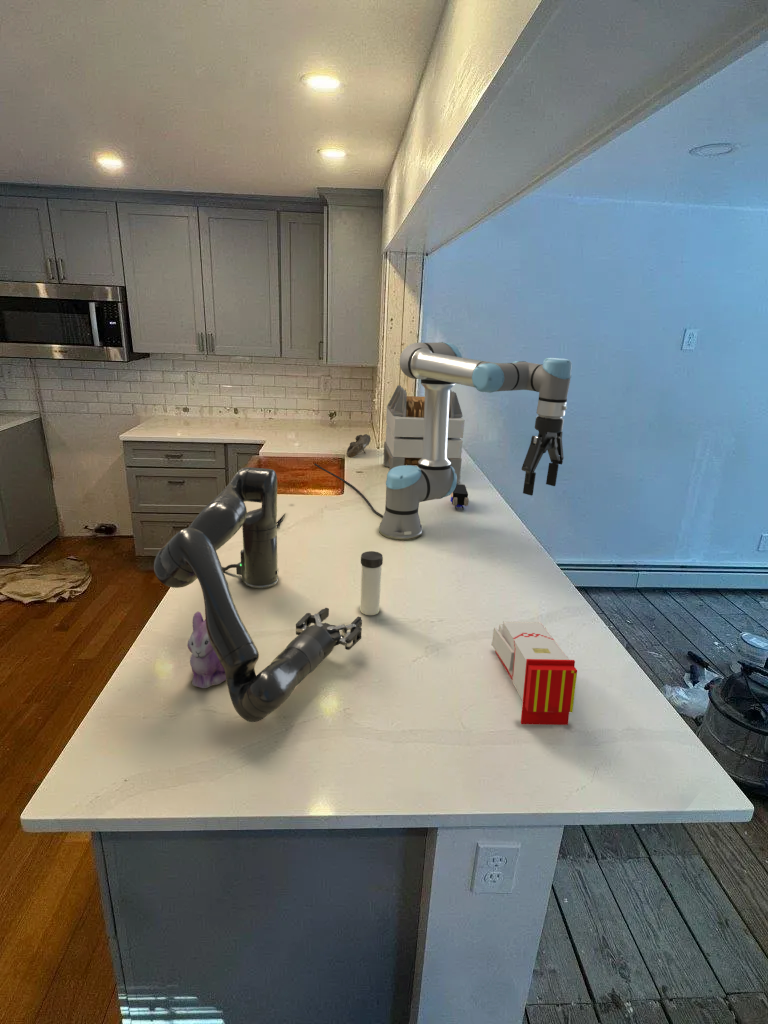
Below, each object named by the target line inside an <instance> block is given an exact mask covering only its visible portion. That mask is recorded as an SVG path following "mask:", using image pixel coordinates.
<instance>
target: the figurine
mask: <svg viewBox="0 0 768 1024" xmlns="http://www.w3.org/2000/svg"><path fill="white" fill-rule="evenodd" d="M187 649H188V650H189V652H190V653H191V656H190V659H189V664H190V667H191V671H192V675H193V677H192V683H191V684H192V686H194V687H198V688H201V689H207V688H210V687H213V686H217V685H220V684H222V683H223V682H225V681H226V676H225V671H224V668H223V666H222V665H221V662H220V661H219V659H218V657H217V655H216V653H215V651H214V649H213V648H212V646H211V643H210V641H209V638H208V634H207V629H206V618H205V619H204V617H203V615H202V613H201V612H200V611H196V612H194V614H193V616H192V632H191V634H190V636H189V639H188V640H187Z"/></svg>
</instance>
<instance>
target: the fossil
mask: <svg viewBox="0 0 768 1024" xmlns="http://www.w3.org/2000/svg"><path fill="white" fill-rule="evenodd" d="M354 440H355V441H351V442H350V443H349V446H348V447H347V450H346V456H347V457H348V458H352V457H355V456H357V455H359V454H360V453H361V452H363V453H364V454H366V452H365V449H366V448H367V446H369V445H370V443H371V440H372V439H371V436H370V434H367V433H365V434H358V435H356V436H355V438H354Z"/></svg>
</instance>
